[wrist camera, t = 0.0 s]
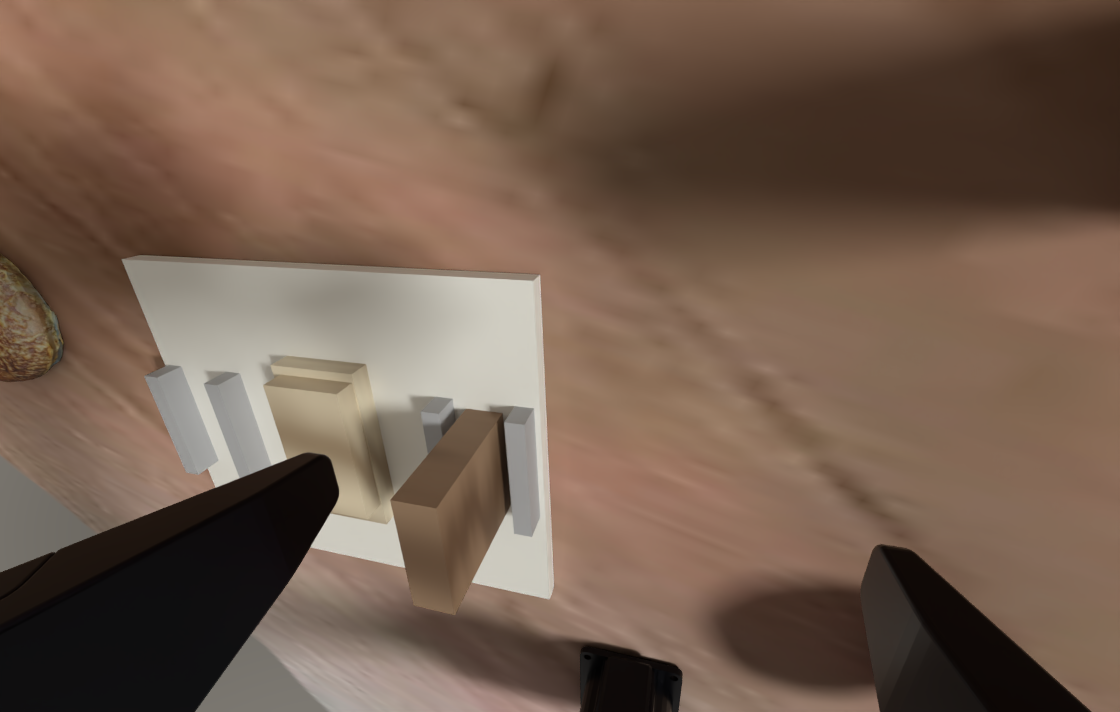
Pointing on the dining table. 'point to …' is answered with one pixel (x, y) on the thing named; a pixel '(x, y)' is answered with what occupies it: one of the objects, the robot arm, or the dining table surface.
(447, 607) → the walnut panel
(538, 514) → the rack
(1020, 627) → the dining table surface
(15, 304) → the bread roll
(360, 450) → the offcut stack
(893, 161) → the dining table surface
